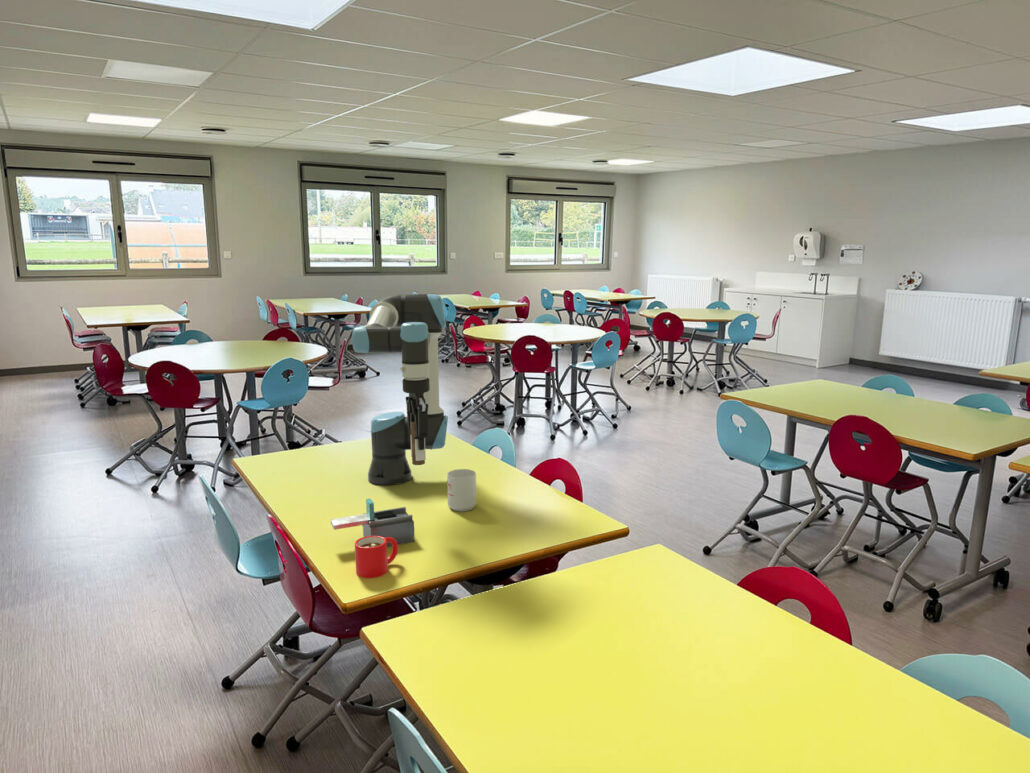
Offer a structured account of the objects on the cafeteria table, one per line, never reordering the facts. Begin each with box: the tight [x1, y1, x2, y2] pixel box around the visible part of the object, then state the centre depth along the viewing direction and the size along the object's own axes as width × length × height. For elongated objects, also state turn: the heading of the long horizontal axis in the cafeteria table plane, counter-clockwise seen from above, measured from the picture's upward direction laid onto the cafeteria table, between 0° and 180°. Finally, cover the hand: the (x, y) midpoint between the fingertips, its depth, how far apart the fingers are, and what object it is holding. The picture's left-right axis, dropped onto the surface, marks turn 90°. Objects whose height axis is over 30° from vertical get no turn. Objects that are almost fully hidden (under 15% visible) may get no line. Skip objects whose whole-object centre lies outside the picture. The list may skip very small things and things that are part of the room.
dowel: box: [411, 422, 426, 466], centre depth 200 cm, size 4×4×12 cm
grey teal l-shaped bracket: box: [330, 498, 375, 531], centre depth 190 cm, size 5×11×6 cm, turn 115°
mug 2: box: [446, 468, 477, 512], centre depth 220 cm, size 12×9×11 cm
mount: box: [362, 506, 415, 548], centre depth 195 cm, size 10×12×7 cm
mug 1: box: [354, 536, 399, 579], centre depth 177 cm, size 8×12×8 cm, turn 138°
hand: (418, 458), depth 200 cm, fingers closed on dowel, 3 cm apart
